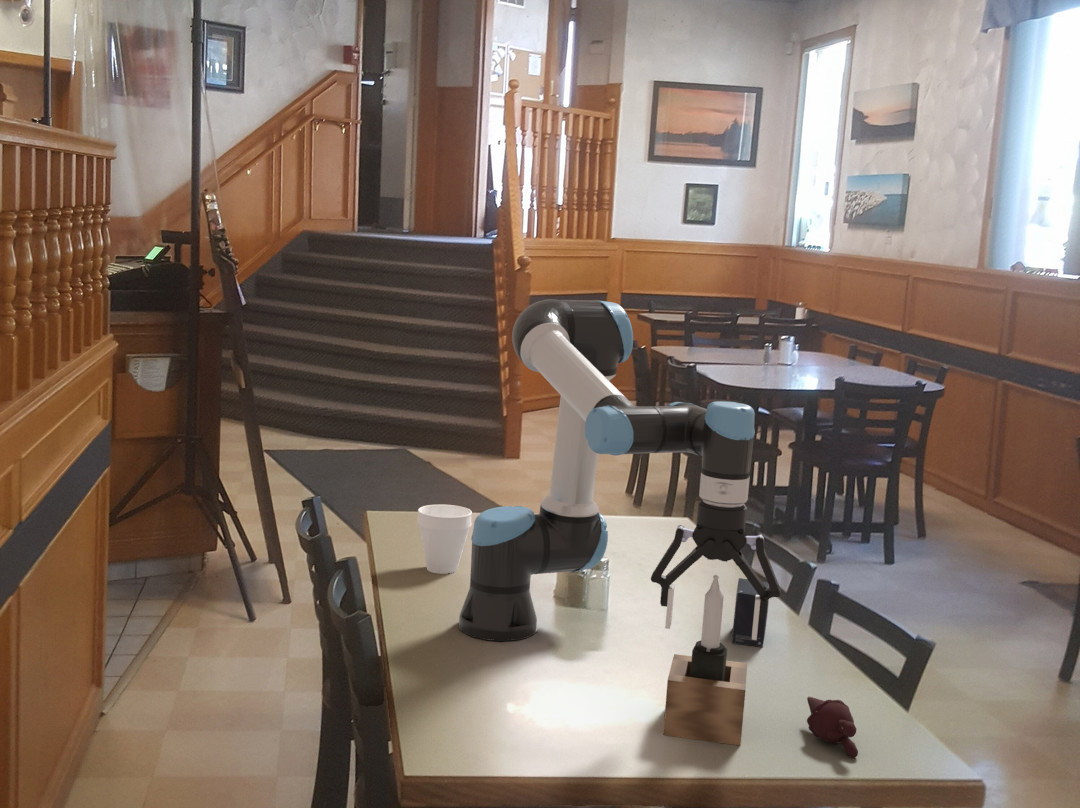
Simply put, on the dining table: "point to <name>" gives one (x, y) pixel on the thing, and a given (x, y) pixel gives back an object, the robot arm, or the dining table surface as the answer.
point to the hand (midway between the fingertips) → (710, 631)
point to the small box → (747, 615)
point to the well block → (705, 703)
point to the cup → (443, 535)
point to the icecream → (832, 723)
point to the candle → (710, 639)
